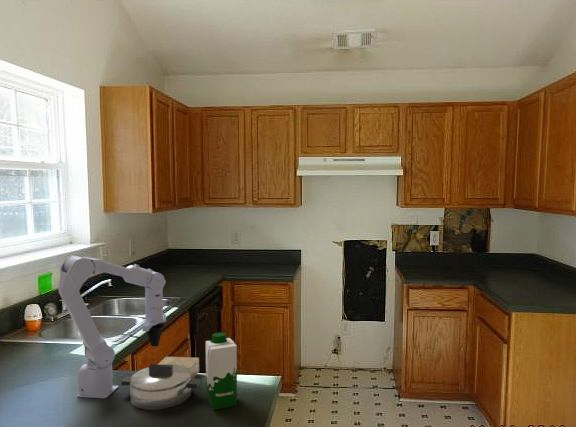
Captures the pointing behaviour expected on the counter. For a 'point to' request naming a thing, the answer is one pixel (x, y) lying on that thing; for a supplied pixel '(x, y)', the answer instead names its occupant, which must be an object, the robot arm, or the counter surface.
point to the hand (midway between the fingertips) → (154, 345)
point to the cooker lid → (160, 377)
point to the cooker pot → (170, 396)
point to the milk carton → (221, 371)
